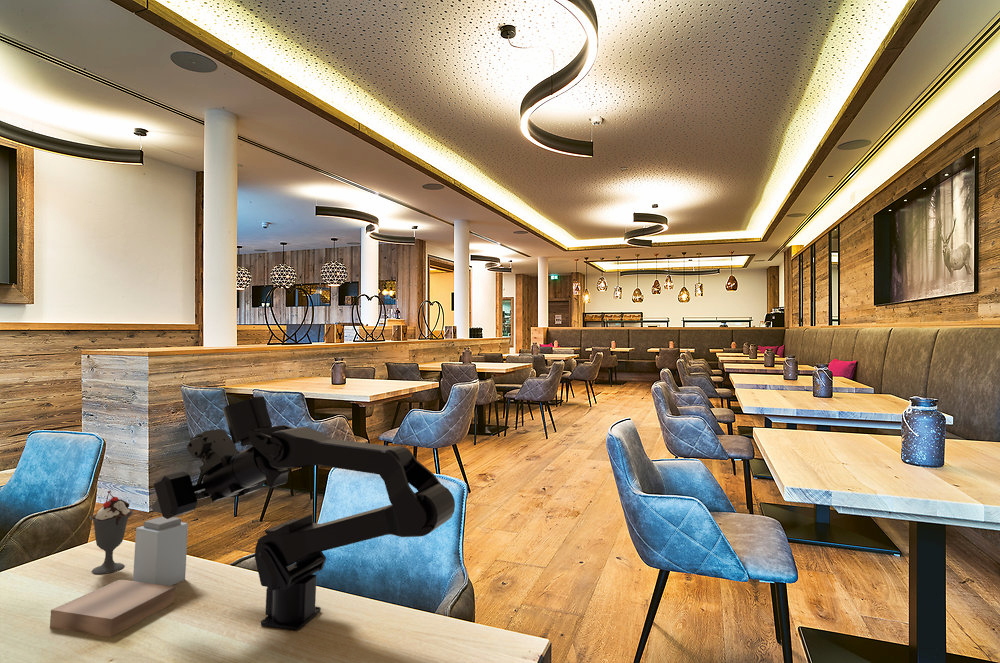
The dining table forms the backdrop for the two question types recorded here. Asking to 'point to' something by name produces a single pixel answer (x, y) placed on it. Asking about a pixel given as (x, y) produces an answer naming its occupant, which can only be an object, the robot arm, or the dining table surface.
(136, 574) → the grey rectangular block
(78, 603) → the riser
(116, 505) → the sundae
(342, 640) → the dining table surface
